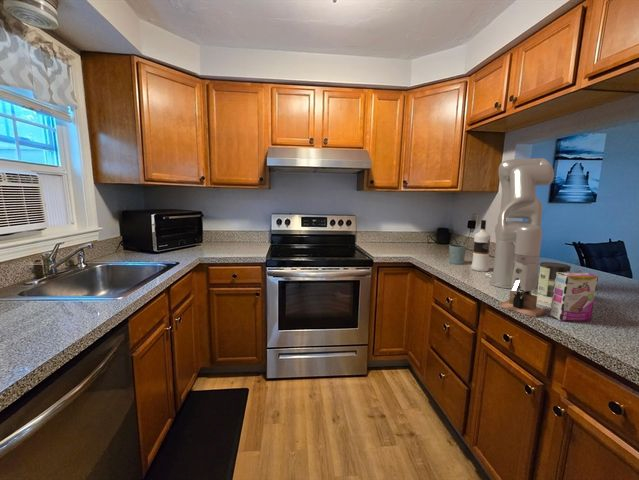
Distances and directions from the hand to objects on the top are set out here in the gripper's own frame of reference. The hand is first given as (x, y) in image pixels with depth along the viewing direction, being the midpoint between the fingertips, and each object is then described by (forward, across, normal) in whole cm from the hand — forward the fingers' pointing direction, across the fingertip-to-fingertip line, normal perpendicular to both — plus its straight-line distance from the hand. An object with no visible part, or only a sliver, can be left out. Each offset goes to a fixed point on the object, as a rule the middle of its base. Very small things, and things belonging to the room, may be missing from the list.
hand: (521, 306), depth 107 cm
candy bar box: (+2, +7, -13) cm, 15 cm away
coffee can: (+2, +30, +1) cm, 30 cm away
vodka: (+2, +49, +43) cm, 65 cm away
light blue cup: (+2, +54, +61) cm, 82 cm away
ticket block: (+2, +17, 0) cm, 17 cm away
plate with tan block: (+2, +1, 0) cm, 2 cm away
